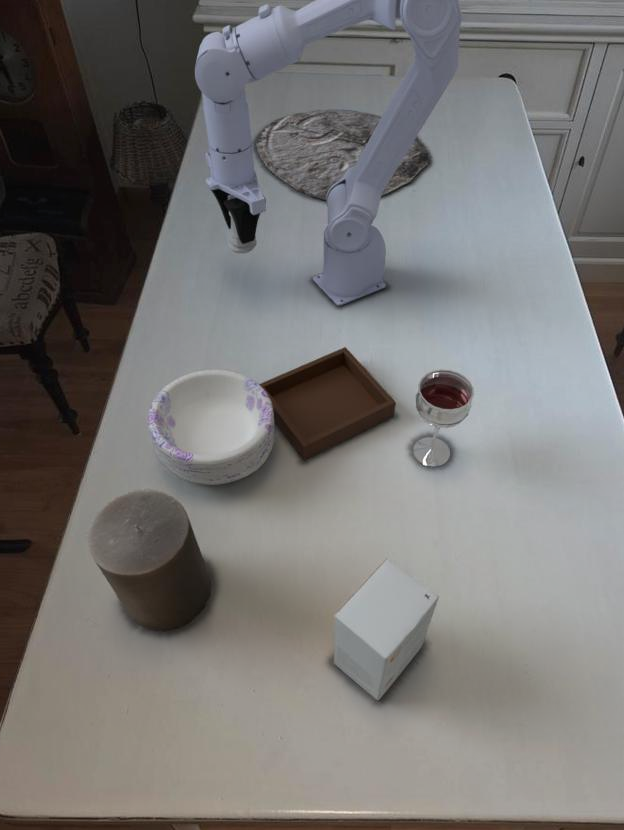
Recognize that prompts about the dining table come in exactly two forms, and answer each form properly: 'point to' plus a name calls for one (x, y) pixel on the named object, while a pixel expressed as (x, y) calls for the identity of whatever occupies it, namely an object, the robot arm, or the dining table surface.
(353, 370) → the tray
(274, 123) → the worn metal disc
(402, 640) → the small box
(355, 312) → the dining table surface
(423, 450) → the wineglass
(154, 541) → the pillar candle
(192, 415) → the paper bowls
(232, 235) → the rook chess piece
